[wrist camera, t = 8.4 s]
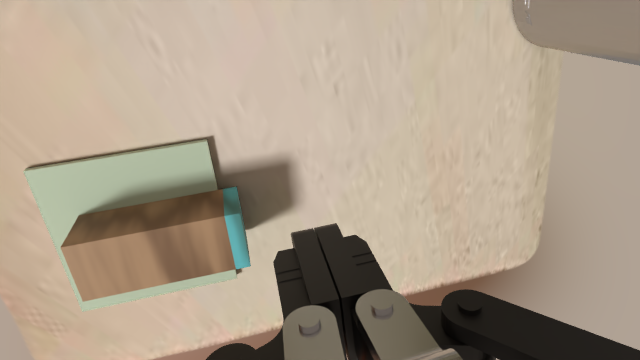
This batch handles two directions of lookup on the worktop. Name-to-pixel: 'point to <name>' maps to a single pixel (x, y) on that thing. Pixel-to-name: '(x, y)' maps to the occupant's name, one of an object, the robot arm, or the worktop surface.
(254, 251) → the worktop surface
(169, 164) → the sage mat
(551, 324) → the robot arm
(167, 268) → the walnut block
